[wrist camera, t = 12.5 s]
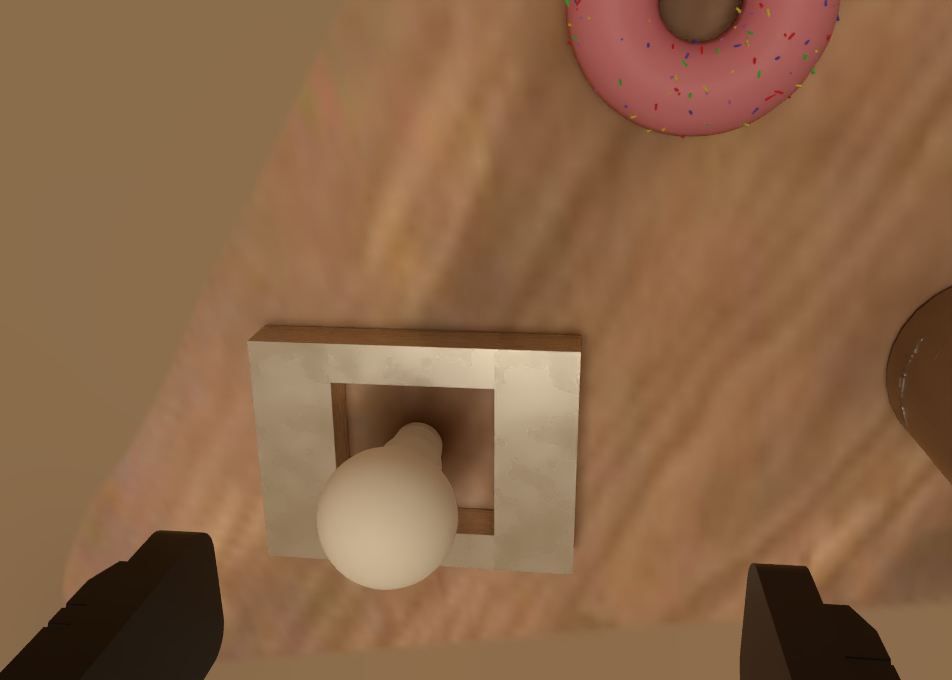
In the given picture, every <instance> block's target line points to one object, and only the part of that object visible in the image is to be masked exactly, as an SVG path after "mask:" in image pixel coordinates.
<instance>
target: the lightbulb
mask: <svg viewBox="0 0 952 680" xmlns="http://www.w3.org/2000/svg"><path fill="white" fill-rule="evenodd" d="M441 455H442V440H441V437H440V435H439V434H438V432H437V431H436V430H435V429H434V428H433V427H431V426H429V425H427V424H425V423H420V422H414V423H409V424H406V425H405V426H403V427H402V428H401V429H400V430H399V431H398V433H397V434H396V435H395V436H394V438H393V439H391V440H389V441H388V442H387V443H386V444H385V445H384V447H377V448H371V449H368V450H365V451H362V452H359V453H358V454H356V455H354V456H353V457H351V458H349V459H348V460H346V461H345V462H344V463H343V464H341V465H340V466H339V467H338V468H337V469H336V470H335V471H334V472H333V474H332V475H331V477H330V478H329V480H328V481H327V483H326V484H325V486H324V488H323V491H322V493H321V496H320V499H319V504H318V511H317V528H318V536H319V539H320V543H321V546H322V548H323V550H324V552H325V554H326V556H327V557H328V559H329V560H330V561H331V563H332V564H333V565H334V566H335V568H336V569H337V570H338V571H339V572H341V573H342V574H343V575H344V576H345V577H347V578H348V579H350V580H352V581H353V582H355V583H358V584H360V585H362V586H365V587H369V588H373V589H382V590H390V589H398V588H403V587H407V586H410V585H413V584H415V583H417V582H419V581H421V580H423V579H424V578H426V577H427V576H428V575H429V574H431V573H432V572H433V571H434V570H435V569H437V568H438V567H439V565H440V564H441V563H442V561H443V560H444V559H445V557H446V556H447V555H448V553H449V551H450V549H451V547H452V545H453V543H454V540H455V536H456V531H457V527H458V508H457V502H456V498H455V494H454V491H453V489H452V487H451V484H450V482H449V481H448V479H447V478H446V476H445V475H444V474H443V472H442V471H441V470H442V461H441Z"/></svg>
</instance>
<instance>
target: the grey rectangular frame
mask: <svg viewBox="0 0 952 680" xmlns="http://www.w3.org/2000/svg"><path fill="white" fill-rule="evenodd" d="M247 344H248V354H249V364H250V374H251V384H252V394H253V404H254V414H255V424H256V434H257V444H258V455H259V465H260V475H261V485H262V495H263V505H264V515H265V525H266V535H267V545H268V555H272V556H287V557H303V558H319V559H328V557H327V556H326V554H325V552H324V550H323V548H322V546H321V543H320V539H319V536H318V528H317V511H318V504H319V499H320V496H321V493H322V491H323V488H324V486H325V484H326V483H327V481H328V480H329V478H330V477H331V475H332V474H333V472H334V471H335V470H336V469H337V468H338V467H339V466H340V465H341V464H343V463H344V462H345V461H346V460H348V459H349V458H350V456H349V439H348V423H347V406H346V390H345V383H353V384H378V385H404V386H429V387H455V388H481V389H494V510H485V509H467V508H458V527H457V531H456V536H455V540H454V543H453V545H452V547H451V549H450V551H449V553H448V555H447V556H446V557H445V559H444V560H443V561H442V563H441V564H440V565H439V566H446V567H462V568H478V569H494V570H509V571H525V572H541V573H557V574H573V552H574V525H575V497H576V470H577V442H578V415H579V387H580V360H581V335H564V334H533V333H501V332H469V331H437V330H406V329H374V328H342V327H310V326H279V325H265V326H264V327H263V328H261V329H260V330H259V331H258V332H257V333H256V334H255V335H253V336H252V337H251V338H250V339H249V340H248V341H247Z"/></svg>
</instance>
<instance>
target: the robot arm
mask: <svg viewBox="0 0 952 680" xmlns="http://www.w3.org/2000/svg"><path fill="white" fill-rule="evenodd" d="M886 385H887V390H888V395H889V400H890V404H891V406H892V408H893V410H894V412H895V414H896V416H897V418H898V420H899V421H900V423H901V424H902V425H903V426H904V427H905V429H906V430H907V431H908V432H909V433H910V435H911V436H912V437H913V438H914V439H915V441H916V442H917V443H918V444H919V445H920V447H921V448H922V449H923V450H924V451H925V453H926V454H927V455H928V456H929V458H930V459H931V460H932V461H933V463H934V464H935V465H936V466H937V468H938V469H939V470H940V471H941V472H942V474H943V475H944V476H945V477H946V478H947V479H948V481H949V482H950V483H951V484H952V287H951V288H949V289H947V290H946V291H944V292H942V293H940V294H938V295H937V296H935V297H933V298H932V299H931V300H930V301H929V302H927V303H926V304H925V305H924V306H923V307H921V308H920V309H919V310H918V311H917V312H916V313H915V314H914V315H913V316H912V318H911V319H910V320H909V321H908V323H907V324H906V325H905V326H904V327H903V329H902V330H901V332H900V334H899V336H898V338H897V340H896V342H895V344H894V345H893V348H892V351H891V355H890V358H889V362H888V365H887V384H886ZM223 631H224V617H223V609H222V602H221V595H220V587H219V580H218V573H217V566H216V559H215V551H214V545H213V542H212V539H211V537H210V536H209V535H208V534H207V533H201V532H182V531H163V530H159V531H156V532H155V533H153V534H152V535H151V536H150V537H149V538H148V540H147V541H146V542H145V543H144V544H143V545H142V546H141V547H140V548H139V549H138V551H137V552H136V553H135V554H134V555H133V556H132V557H131V558H130V559H129V560H128V562H126V561H119V562H118V563H116V564H114V565H113V566H111V567H109V568H108V569H106V570H104V571H103V572H101V573H99V574H98V575H96V576H94V577H93V578H91V579H89V580H88V581H87V582H86V583H85V584H84V585H83V586H82V587H81V588H80V589H79V590H78V591H77V593H76V594H75V595H74V596H73V597H72V598H71V599H70V600H69V601H68V602H67V603H66V608H61V609H60V611H58V612H57V614H56V615H55V616H54V617H53V618H52V619H51V620H50V621H49V622H48V627H43V628H42V629H41V630H40V631H39V632H38V634H37V635H36V636H35V637H34V638H33V639H32V640H31V641H30V642H29V643H28V644H27V645H26V646H25V647H24V648H23V649H22V650H21V651H20V653H19V654H18V655H17V656H16V657H15V658H14V659H13V660H12V661H11V662H10V663H9V664H8V665H7V666H6V667H5V668H4V669H3V670H2V672H0V680H204V678H205V677H206V675H207V673H208V672H209V670H210V669H211V667H212V665H213V664H214V662H215V660H216V658H217V656H218V653H219V650H220V647H221V643H222V638H223ZM740 680H901V679H900V678H899V675H898V673H897V671H896V669H895V667H894V665H891V659H890V657H889V655H888V653H887V651H886V649H885V647H884V645H883V643H882V641H881V639H880V637H879V635H878V633H877V631H876V630H875V629H874V628H873V627H872V626H871V625H869V624H868V623H867V622H866V621H865V620H864V619H863V618H862V617H861V616H860V615H859V614H858V613H856V612H855V611H854V610H853V609H852V608H851V607H850V606H849V605H833V604H823V602H822V600H821V597H820V595H819V592H818V590H817V588H816V585H815V583H814V580H813V578H812V576H811V573H810V571H809V569H808V568H807V567H806V566H793V565H774V564H756V563H752V564H751V565H750V567H749V571H748V577H747V587H746V598H745V608H744V619H743V629H742V641H741V651H740Z"/></svg>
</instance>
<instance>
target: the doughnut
mask: <svg viewBox="0 0 952 680" xmlns="http://www.w3.org/2000/svg"><path fill="white" fill-rule="evenodd" d="M565 3H566V22H567V29H568V34H569V39H570V41H568V42H567V44H571V46H572V49H573V52H574V55H575V57H576V60H577V62H578V64H579V66H580V68H581V70H582V72H583V74H584V76H585V77H586V79H587V81H588V82H589V83H590V85H591V86H592V88H593V89H594V90H595V92H596V93H597V94H598V95H599V96H600V97H601V98H602V99H603V100H604V101H605V102H606V103H607V104H608V105H609V106H610V107H611V108H613V109H614V110H615V111H616V112H618V113H619V114H621V115H622V116H623V117H625V118H627V119H628V120H630V121H632V122H634V123H635V124H637V125H640V126H642V127H644V128H647V129H649V130H647V132H650V131H656V132H659V133H664V134H668V135H676V136H682V138H684V136H706V135H714V134H720V133H724V132H728V131H731V130H734V129H737V128H740V127H743V126H745V125H746V126H750V124H749V123H752V122H754V121H755V120H757V119H759V118H761V117H762V116H764V115H765V114H767V113H768V112H770V111H771V110H772V109H774V108H775V107H776V106H778V105H779V104H780V103H782V102H783V101H784V100H786V99H787V98H790V95H792V94H793V93H794V92H795V91H796V90H797V89H798V88H799V87H802V85H801V84H802V83H803V82H804V80H805V79H806V77H807V76H808V74H809V73H810V71H812V73H813V74H814V73H815V71H814V69H813V67H814V65H815V64H816V62H817V61H818V59H819V58H820V56H821V55H822V53H823V51H824V50H825V48H826V46H827V44H828V42H829V40H830V37H831V35H832V32H833V30H834V26H835V23H836V20H837V21H839V20H840V19H839V16H838V11H839V5H840V0H743V3H742V7H741V10H740V9H739V8H738V7H737V8H736V10H737V11H738V14H739V15H738V17H737V19H736V20H735V22H734V23H733V24H732V26H731V27H730V28H729V29H728V30H727V31H726V32H724V33H723V34H722V35H720V36H718V37H717V38H715V39H712V40H709V41H705V42H697V41H696V40H693V42H690V41H686V40H683V39H681V38H679V37H677V36H676V35H674V34H673V33H672V32H671V31H670V30H669V29H668V28H667V26H666V25H665V23H664V21H663V19H662V17H661V13H660V9H659V0H565Z"/></svg>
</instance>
